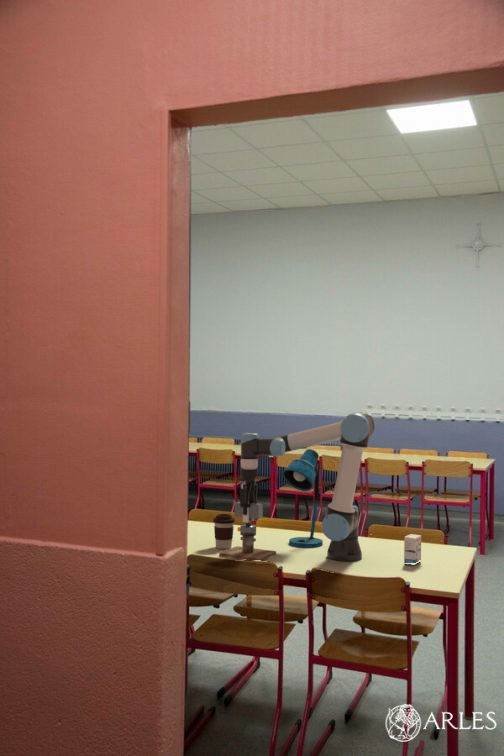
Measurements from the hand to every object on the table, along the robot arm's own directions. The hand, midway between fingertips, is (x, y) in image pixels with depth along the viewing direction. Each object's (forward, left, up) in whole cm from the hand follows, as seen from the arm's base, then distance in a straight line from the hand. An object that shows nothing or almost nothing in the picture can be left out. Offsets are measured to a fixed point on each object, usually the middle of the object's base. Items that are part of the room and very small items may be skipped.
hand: (248, 521), depth 328 cm
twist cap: (0, 0, -6) cm, 6 cm away
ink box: (-67, -24, -15) cm, 73 cm away
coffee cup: (+17, -8, -15) cm, 24 cm away
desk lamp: (-12, -33, -15) cm, 38 cm away
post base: (0, 0, -15) cm, 15 cm away
